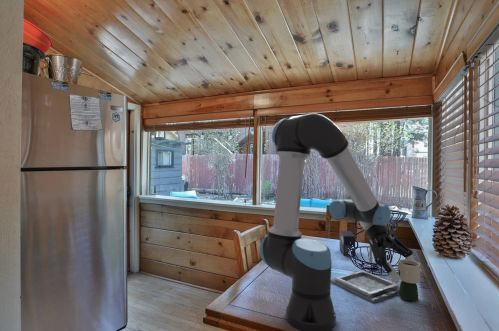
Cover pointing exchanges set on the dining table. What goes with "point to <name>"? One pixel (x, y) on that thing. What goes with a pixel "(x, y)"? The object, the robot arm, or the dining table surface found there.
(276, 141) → the robot arm
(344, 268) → the dining table surface
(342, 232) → the small box
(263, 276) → the dining table surface
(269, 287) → the dining table surface
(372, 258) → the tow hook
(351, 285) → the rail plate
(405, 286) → the character mug
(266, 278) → the dining table surface
